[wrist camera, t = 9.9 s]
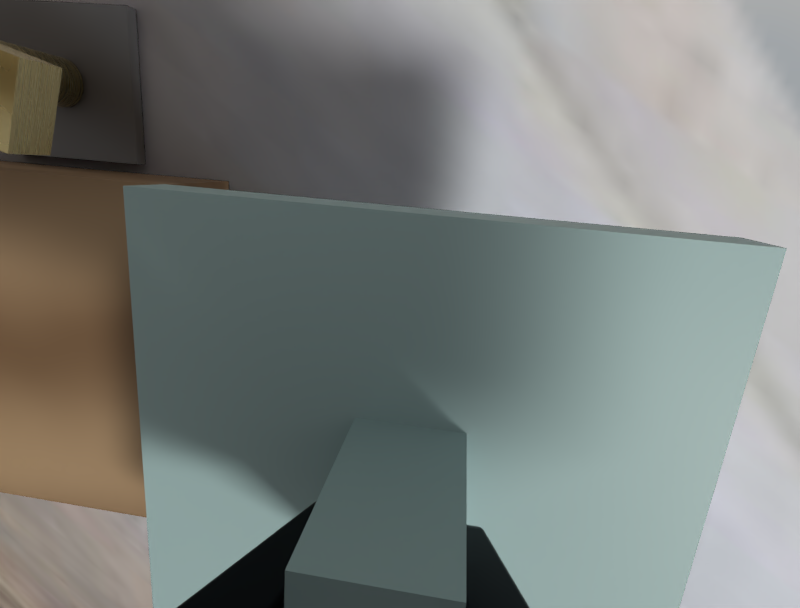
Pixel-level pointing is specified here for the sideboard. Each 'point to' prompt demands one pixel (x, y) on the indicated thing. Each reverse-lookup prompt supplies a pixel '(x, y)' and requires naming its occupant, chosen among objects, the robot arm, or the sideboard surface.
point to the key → (33, 97)
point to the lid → (432, 394)
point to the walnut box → (74, 273)
